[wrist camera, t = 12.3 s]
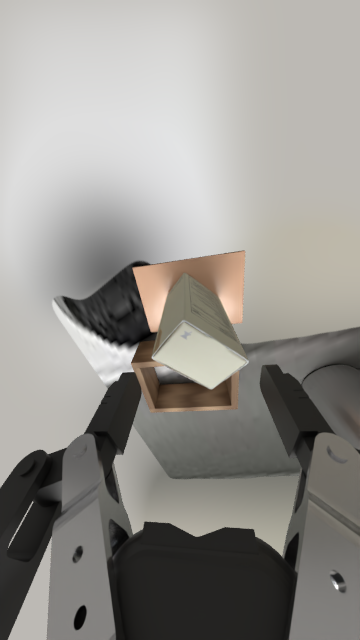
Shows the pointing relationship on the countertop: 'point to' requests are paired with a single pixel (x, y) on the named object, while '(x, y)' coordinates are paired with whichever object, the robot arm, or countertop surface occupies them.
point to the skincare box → (197, 335)
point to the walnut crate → (180, 388)
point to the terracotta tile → (211, 271)
